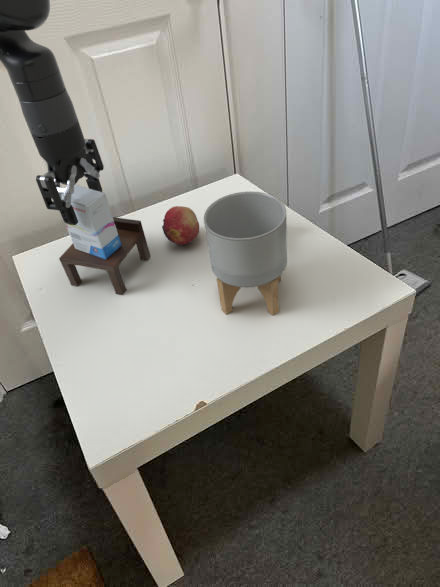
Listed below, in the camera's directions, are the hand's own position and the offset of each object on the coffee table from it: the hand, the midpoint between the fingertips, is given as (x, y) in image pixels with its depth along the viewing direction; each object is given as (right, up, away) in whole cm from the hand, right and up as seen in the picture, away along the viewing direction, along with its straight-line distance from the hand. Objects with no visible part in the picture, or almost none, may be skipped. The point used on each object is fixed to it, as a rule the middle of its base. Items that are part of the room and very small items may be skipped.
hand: (85, 210), depth 82 cm
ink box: (+1, -6, +6) cm, 8 cm away
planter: (+30, -15, +2) cm, 34 cm away
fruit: (+16, -4, +16) cm, 23 cm away
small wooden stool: (+2, -10, +11) cm, 15 cm away
